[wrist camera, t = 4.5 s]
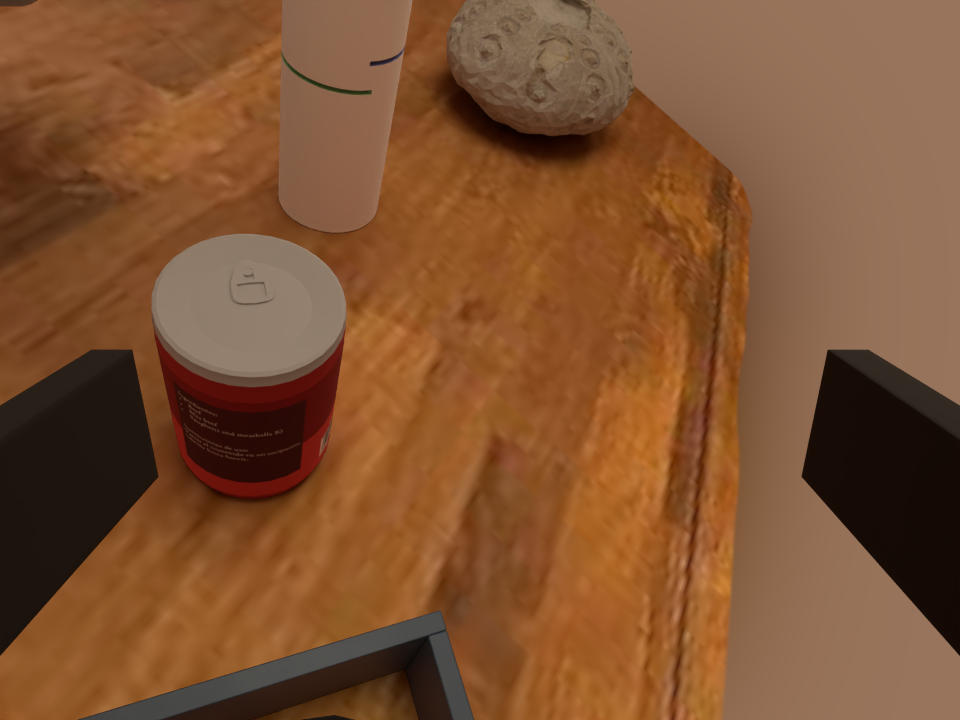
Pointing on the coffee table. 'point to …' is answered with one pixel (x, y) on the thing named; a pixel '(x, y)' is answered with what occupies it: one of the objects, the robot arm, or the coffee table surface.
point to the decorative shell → (542, 63)
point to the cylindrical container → (337, 107)
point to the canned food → (250, 360)
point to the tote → (323, 678)
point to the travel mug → (330, 718)
